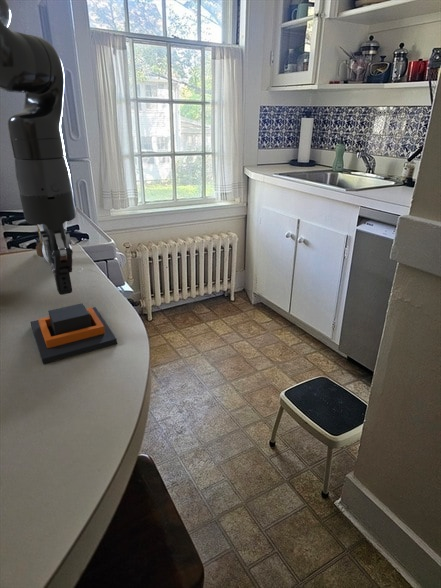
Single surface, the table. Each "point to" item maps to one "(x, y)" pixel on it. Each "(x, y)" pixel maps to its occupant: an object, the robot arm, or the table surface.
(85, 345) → the base pad
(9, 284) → the table surface
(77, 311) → the dark gray block
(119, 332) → the table surface
